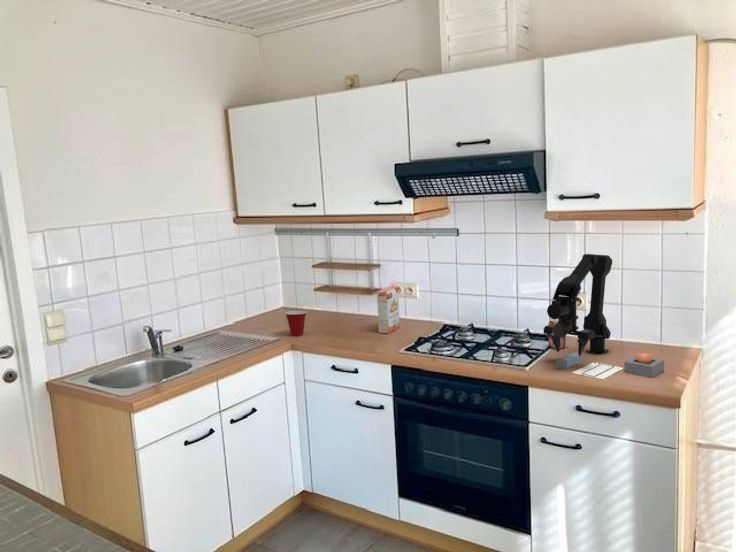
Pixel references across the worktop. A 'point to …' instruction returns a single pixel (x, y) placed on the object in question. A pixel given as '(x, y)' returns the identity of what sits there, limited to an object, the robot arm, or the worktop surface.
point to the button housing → (644, 367)
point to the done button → (644, 358)
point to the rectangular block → (568, 360)
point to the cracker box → (388, 309)
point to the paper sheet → (598, 370)
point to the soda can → (562, 340)
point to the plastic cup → (296, 322)
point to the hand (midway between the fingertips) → (568, 353)
